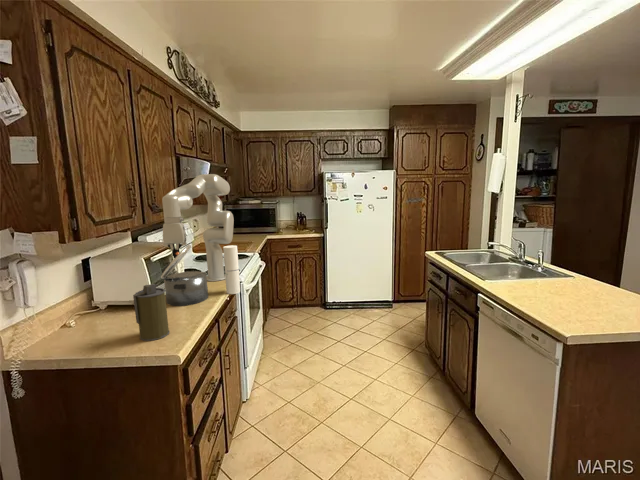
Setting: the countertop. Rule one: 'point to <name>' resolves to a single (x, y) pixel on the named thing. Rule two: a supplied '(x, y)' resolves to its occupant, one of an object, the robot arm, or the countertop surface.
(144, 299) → the canister
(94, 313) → the countertop surface
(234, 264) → the cylindrical container
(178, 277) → the cooker pot
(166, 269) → the cooker lid
